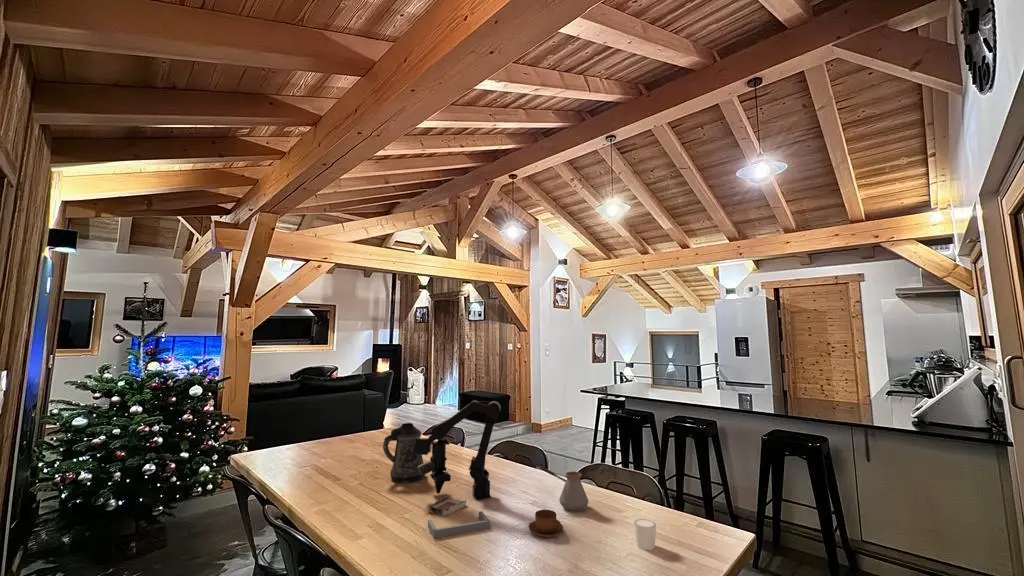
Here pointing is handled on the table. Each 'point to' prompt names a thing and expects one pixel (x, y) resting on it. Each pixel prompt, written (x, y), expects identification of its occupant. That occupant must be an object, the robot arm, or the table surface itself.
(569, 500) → the grey coffee pot
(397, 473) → the beer stein
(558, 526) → the cup and saucer
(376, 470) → the table surface
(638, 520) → the shot glass
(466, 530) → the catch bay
